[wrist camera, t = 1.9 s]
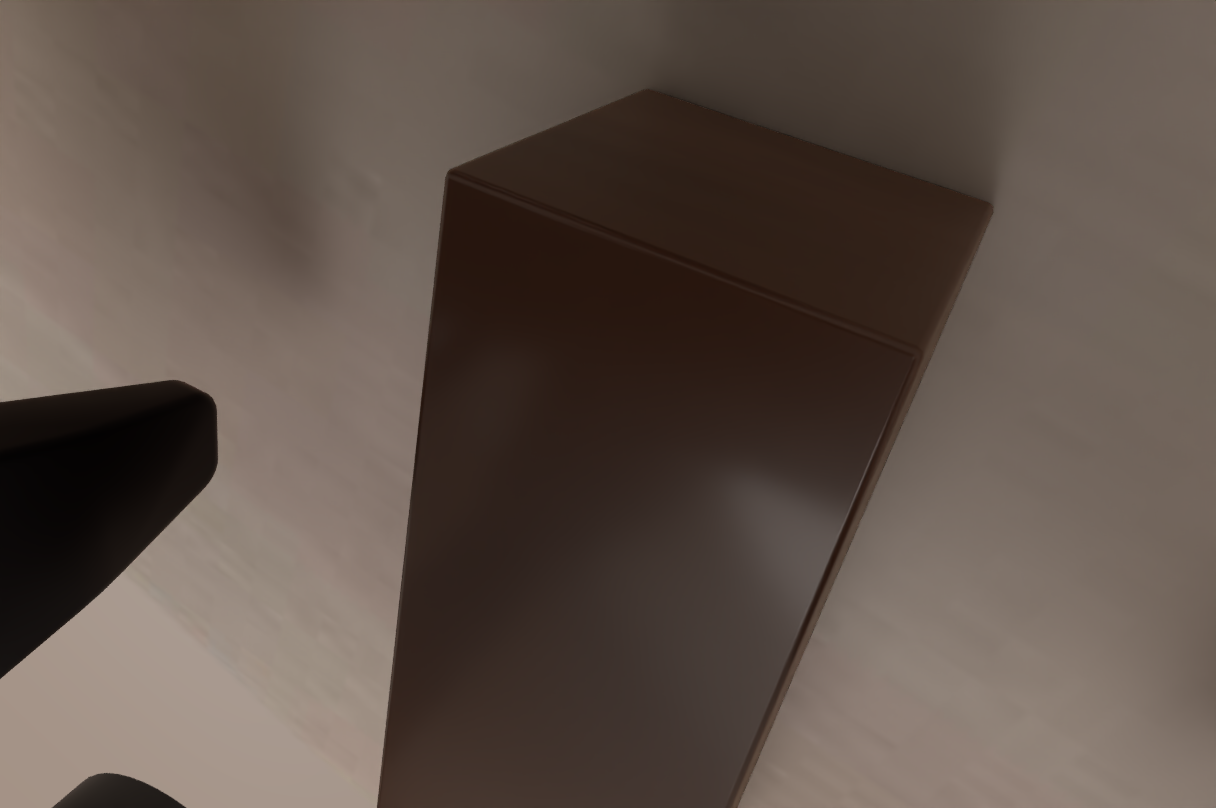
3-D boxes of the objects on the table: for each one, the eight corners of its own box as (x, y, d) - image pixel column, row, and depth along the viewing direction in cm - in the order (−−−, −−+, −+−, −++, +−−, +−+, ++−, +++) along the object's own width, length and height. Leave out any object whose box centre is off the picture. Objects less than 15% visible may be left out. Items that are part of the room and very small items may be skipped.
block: (728, 828, 12) (620, 1069, 9) (513, 709, 13) (364, 902, 10) (998, 203, 8) (924, 353, 5) (644, 86, 8) (441, 168, 6)
